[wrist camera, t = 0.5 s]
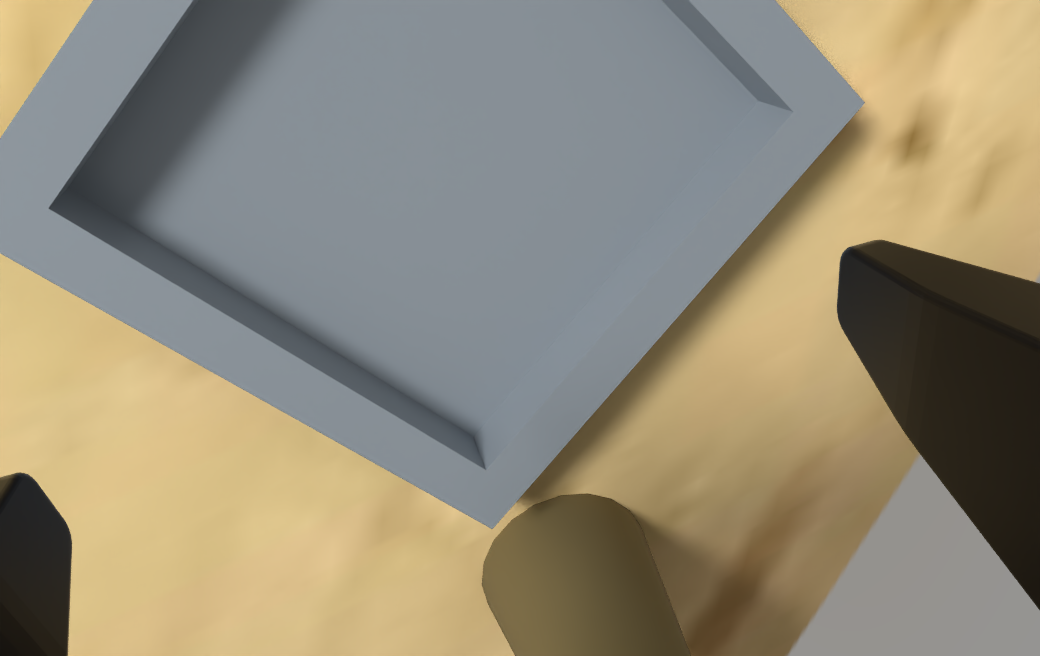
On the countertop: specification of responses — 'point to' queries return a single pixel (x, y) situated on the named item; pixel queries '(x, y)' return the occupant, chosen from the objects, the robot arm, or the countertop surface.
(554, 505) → the cork
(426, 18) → the tray
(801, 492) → the countertop surface
